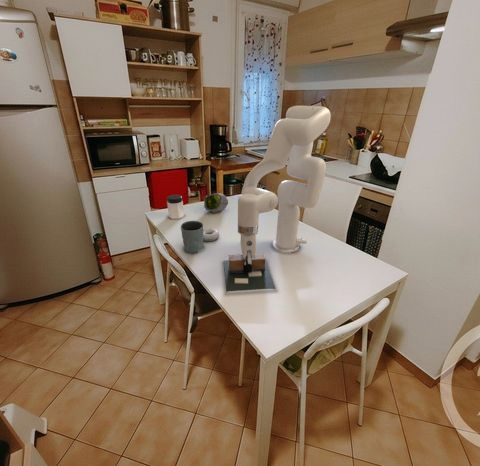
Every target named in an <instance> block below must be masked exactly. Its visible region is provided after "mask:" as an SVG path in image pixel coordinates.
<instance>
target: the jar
mask: <svg viewBox="0 0 480 466" xmlns="http://www.w3.org/2000/svg"><path fill="white" fill-rule="evenodd" d="M166 205H167V213H168V217H169V218H170V219H171V220H179V219H182V218H183V217H185V210H184V201H183V197H182V195H180V194H171V195H168V196H166Z"/></svg>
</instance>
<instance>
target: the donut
mask: <svg viewBox="0 0 480 466" xmlns="http://www.w3.org/2000/svg"><path fill="white" fill-rule="evenodd" d="M219 236H220V233H219V231H218V230H217V229H215V228H211V227H210V228H203V242H214V241H216V240H217V239H218V238H219Z"/></svg>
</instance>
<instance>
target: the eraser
mask: <svg viewBox="0 0 480 466" xmlns="http://www.w3.org/2000/svg"><path fill="white" fill-rule="evenodd" d="M246 257H247V256H246ZM228 260H229V273H230V274H231V273H244V272H243V269H244V259H243V255H242V254H229V255H228ZM265 260H266V261H267V259H266V256H265V254H264V253H256V258H255V259H253V258H252V272H257V271H261V272H265ZM246 261H247V259H246Z"/></svg>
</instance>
